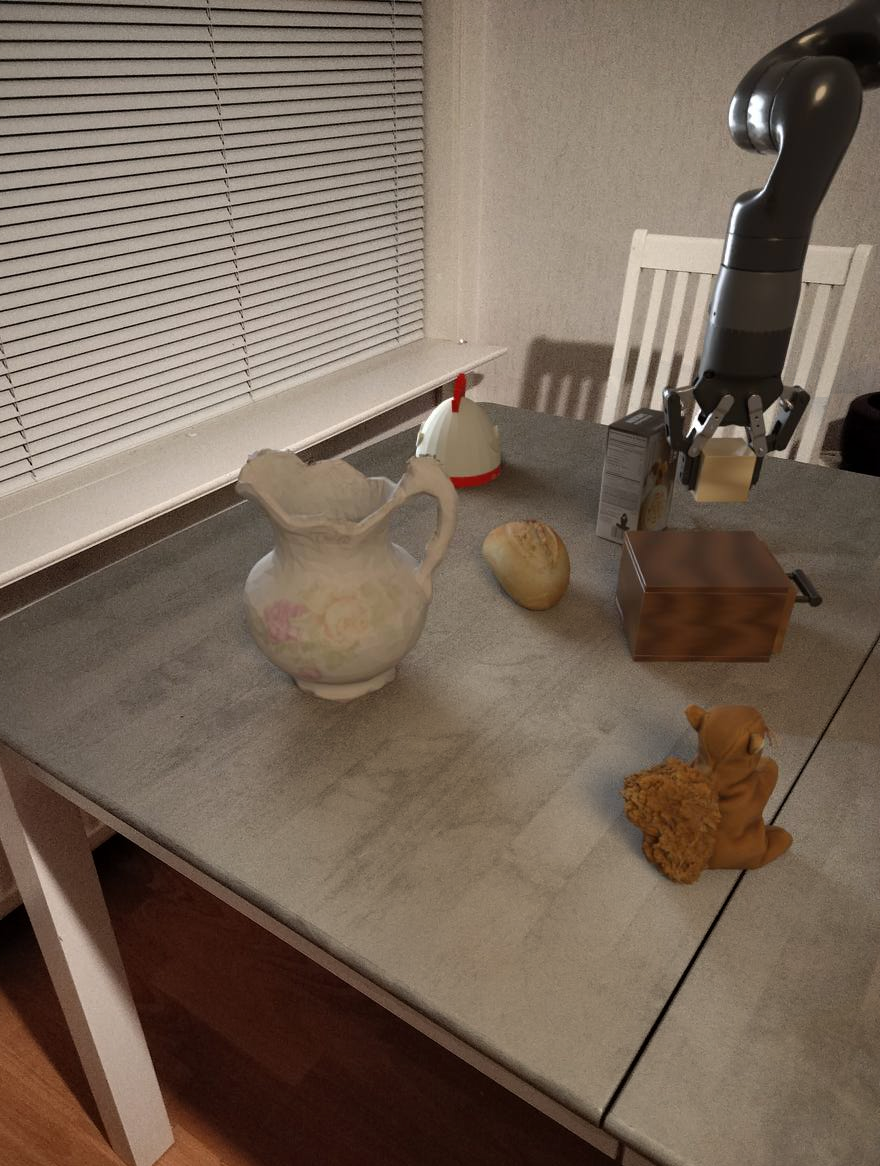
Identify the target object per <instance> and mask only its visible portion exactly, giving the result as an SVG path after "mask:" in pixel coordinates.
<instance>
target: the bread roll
mask: <svg viewBox="0 0 880 1166" xmlns="http://www.w3.org/2000/svg"><path fill="white" fill-rule="evenodd" d="M481 553H482V557H483V559H484V562H485V564H486V565H487V566H488V568H489V569H490V570H491V571H492V573H493V575H494V576H495V577H496V579H497V581H498V582H499V583H500V585H501V586H502V588H503V590H504V591H505V592H506V594H508V595H509V596H510V597H511V599H513V600H514V602H516V603H517V604H518V605H519V606H521V607H523V608H525V609H529V610H532V611H544V610H548V609H551V608H552V607H554V606H556V605H557V604H558V603H559V602H560V601H561V599H563V597H564V595H565V593H566V591H567V590H568V587H569V585H570V578H571V577H570V576H571V562H570V556H569V552H568V549H567V547H566V544H565V542H564V541H563V539H562V538H561V536H560V535H559V534H558V532H556V530H554V528H553V527H551V526H550V525H549V524H547V523H546V522H544V521H542V520H536V519H531V518H530V519H526V520H525V521H523V522H522V521H520V520H517V521H512V522H509V523H504V524H502V525H500V526H497V527H495V528H493V529H492V530H490V532H489V533H488V535H487V536H486V538H485V540H484V541H483V544H482V550H481Z"/></svg>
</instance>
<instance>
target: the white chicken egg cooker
mask: <svg viewBox="0 0 880 1166" xmlns="http://www.w3.org/2000/svg"><path fill="white" fill-rule="evenodd" d="M454 380H455V381H454V388H453V389H452V390H453V391H452V393H453V396H451V397H449V398H448V399H445V400H444V401H442V402H441V403H440V404H439V405H438V406H437V407H436V408H435V409H434V410H433V411H432V412H431V414H430V415H429V416H428V418H427V420H424V421H423V422H421V424H420V428H419V431H418V432H417V439H416V444H415V446H416V451H415V454H416V456H417V457H419V454H430V455H431V456H432V457H429V456H428V457H427V458H428V459H429V458H431V459H433V455H436V459H437V460H440V462H443V463H442V464H443V465H442V466H444V469H445V472H446V473H447V475H448V476H449V478H450V480H451V482H452V483H453V485H454V488H470V487H475V486H481V485H484V484H487V483H490V482H492V481H493V480H495V479H497V478H498V476H499V475H500V474H501V463H502V459H501V458H502V457H501V441H500V440H501V439H500V433H499V426H498V425H493V423H492V422H491V419H490V418H489V416H488V414H486V412H485V411H484V409H483V408H482V407H481V406H480V405H479V404H478V403H476V402H475V401H474V400H473V399H470V398H469V397H466V389H467V377H466V373H465V372H464V373H463V372H462V373H461V372H459V373H458V375H456V378H455V379H454ZM436 459H435V460H436ZM499 473H500V474H499ZM498 474H499V475H498Z"/></svg>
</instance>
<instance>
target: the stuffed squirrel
mask: <svg viewBox="0 0 880 1166" xmlns="http://www.w3.org/2000/svg"><path fill="white" fill-rule="evenodd" d="M684 715H685V717H686V720H687V721H688V723H689V725H690V727H691V728H692V729H693V730H694V731H695V732H696V734H697V736H696V737H697V743H696V753H697V755H695V756H694V758H693V759H692V760H691V761H690V762H689V763H686V762H684V760H682V759H676V758H675V757H673V756H671V757H667V758H665V761H666V762H660V763H659V765H657V764H654V765H652V766H651V767H650V769H649V768H647V769H640V770H639V771H638V772H635V773H633V774H631V775H628V776H623V779H624V780H623V781H622V783H623V789H619V791H618V793H619V794H620V795H622V796H620V797H619V799H623V800H624V802H623V805H624V806H623V807H622V809H624V815H625V817H626V820H627V821H628V822H630V823H631V824H632V825H633V826H634V827H636V828H638V829H640V830H641V832H642V840H641V842H640V843H641V851H642V855H643V856H644V859H645V860H646V861H647V863H650V864H651V865H652V866H655V867H656V870H657V871H658V873H659V874H661V875H662V876H665V877H666V878H668V879H669V880H670V882H672V883H677V884H679V885H683V884H684V885H686V886H688V885H689V886H690V885H691V886H693V885H694V883H697V882H699V879H701V873H702V872H705V871H709V870H710V871H713V870H739V871H740V870H757V869H761V868H763V867H765V866H766V865H768V864H770V863H772V862H774V861H775V860H777V859H778V858H780V857H781V856H783V855H784V854H785V853H786V852H787V851H788V850H789V848H791V847H792V845H793V843H794V839H793V835H792V834H791V833H790V832H789V831H787V829H785V828H784V827H781V826H777V825H772V824H765V820H764V817H763V813H764V810H765V808H766V806H767V805H768V803H769V800H770V798H771V796H772V794H773V793H774V790H775V789H776V786H777V783H778V780H779V765H778V764H777V761H776V760H775V759H773V758H771V757H769V756H762V754H763V752H764V747H765V735H766V737H767V739H768V746H769V747H772V746H773V744H774V743H773V740H772V737H773V739H774V741H775V744H776V746H777V748H780V747H781V743H780V742H779V740H778V738H777V736H776V735H775V733H774V731H773V730H771V728H770V727H769V726H768V725H767V724H766V722H765V718H764V717H763V714H762V713H761V712H760V710H758V709H756V708H755V707H754V706H751V705H747V704H738V703H737V704H726V705H718V706H717V705H716V706H714V707H712V708H710V709H708V710H707V711H705V710H704V708H702V707H700V706H699V705H697V704H694V703H692V704H691V703H690V704H688V705H687V707H685V709H684ZM771 735H772V736H771Z"/></svg>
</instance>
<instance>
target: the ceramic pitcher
mask: <svg viewBox="0 0 880 1166" xmlns="http://www.w3.org/2000/svg"><path fill="white" fill-rule="evenodd" d="M285 449H286V450H279V449H271V448H269V447H268V448H266V447H265V448H262V449H260V450H255V451H254V452H253V453H251V454H248V455H247V456H248V457H247V459H246V463H245V464H244V465H243V466H241V468H240V471H239V473H238V476H237V483H236V484H235V486H234V491H235V493H236V494H237V495H238V496H239V497H242V498H243V499H244V500H247V501H248V502H251V503H252V504H254V505H256V506H257V507H258V508H259V509H260V511H261V512H262V513H263V515H264V516H265V517H266V518H267V520H268V522H269V523H270V525H271V527H272V530H273V536H274V543H275V544H274V548H273V549H272V550H271V551H270V552H269V553H267V554H266V555H265V556H263V557H262V558H260V559H259V560H258V561H257V562H256V563H255V564H254V565H253V567H252V569H251V570H250V572H249V573H248V577H247V578H246V582H245V585H244V592H243V611H244V617H245V622H246V626H247V628H248V632H249V635H250V637H251V639H252V641H253V643H254V644H255V646H256V648H258V650H259V651H260V652H261V654H262V655H263V656H264V657H265V658H266V659H267V660H268V661H269V662H270V663H271V664H273V665H274V666H275V667H277V668H279V669H280V671H281V670H282V672H284V673H286V674H287V675H290V676H291V677H292V678H293V681H294V682H295V684H296V686H297V688H298V689H300V690H301V691H302V692H304V693H306V694H308V695H310V696H312V697H314V698H317V699H323V700H327V701H333V702H337V703H342V704H345V703H348V702H350V701H352V700H356V699H358V698H360V697H363V696H367V695H368V694H372V693H374V692H376V691H379V690H380V689H382V688H383V687H385V686H386V685H387V684H390V683H391V682H393V681H395V678H396V670H397V665H398V664H399V663H400V662H401V661H402V660H404V658H405V657H406V656H407V655H408V654H409V653H411V651H412V650H413V649H414V648H415V646H416V645H417V643H418V642H419V639H420V638H421V637H422V634H423V631H424V629H425V626H426V623H427V621H428V620H427V618H428V611H429V607H430V606H431V604H432V602H433V601H434V574H435V572H436V570H437V569H438V567H439V566H441V564H442V563H443V561H444V559H445V556H446V554H447V553H448V549H449V547H450V545H451V543H452V540H453V538H454V536H455V533H456V531H457V526H458V517H459V495H458V493H457V491H456V487H454V485H453V483H452V482H451V480H450V478H449V476H448V475H447V473H446V472H445V469H444V466H442V465H443V464H442V463H443V462H440V460H437V459H436V455H433V459H431V458H429V459H428V458H427V457H428V456H429V457H432V456H431V455H430V454H419V457H417V456H416V453H415V454H414V455H412V456H411V457H410V458H408V459H405V460H403V461H402V462H403V465H404V464H405V465H406V470H405V471H404V472H403V474H402V475H401V478H400V480H399V481H398V482H397V483H395V482H394V481H392V480H390V479H389V478H387V477H386V476H370V477H367V476H366V475H364V473H362V472H361V471H359V470H358V469H356V468H355V467H353V466H352V465H351V464H349V463H348V462H347V461H346V460H344V459H342V458H336V459H333V460H332V459H321V460H318V461H315V462H312V463H311V462H310V463H309V464H307V463H306V462H303V460H302V459H301V458H300V457H299V456H298V455H297V453H295V452H294V451H292V450H291V449H289V448H285ZM435 459H436V460H435ZM425 495H426V496H429V497H432V498H434V501H435V509H436V521H437V522H436V524H435V526H434V530H433V532H432V533H431V536H430V538H429V540H428V542H427V544H426V546H425V548H424V553H423V556H422V560H421V561H420V562H419V561H418V560H417V559H415V557H414V556H413V555H412V554H410V552H408V551H407V550H406V549H405V548H404V547H402V546H401V545H398V544H396V543H394V542H392V541H391V537H390V531H391V518H392V515H393V513H394V512H396V511H398V510H400V509H401V508H402V507H403V506H405V504H407V503H408V502H410V501H411V500H414V499H416V498H418V497H422V496H425Z"/></svg>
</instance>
